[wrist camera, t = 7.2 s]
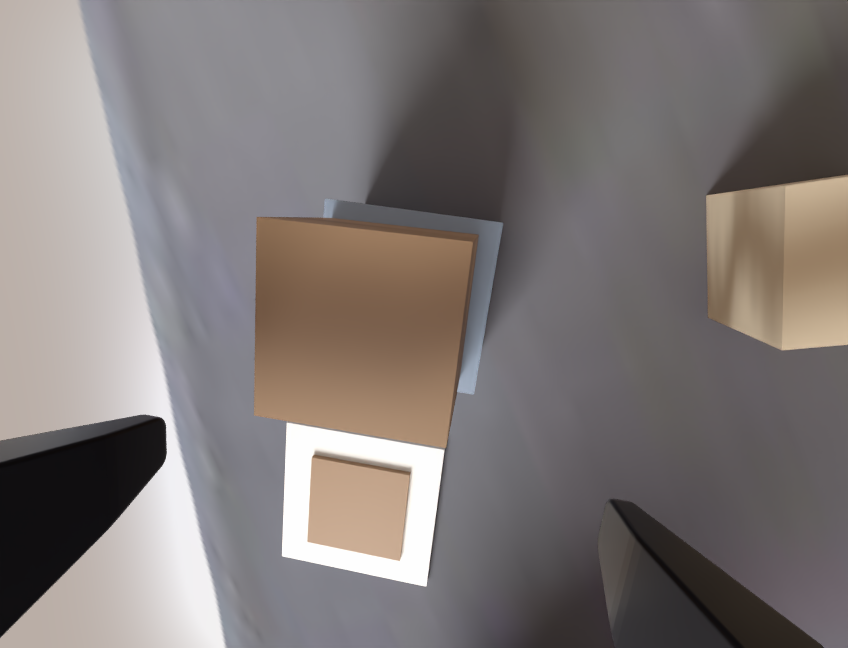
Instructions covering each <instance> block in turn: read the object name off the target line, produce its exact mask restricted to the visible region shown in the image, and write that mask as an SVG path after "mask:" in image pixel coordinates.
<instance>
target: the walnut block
mask: <svg viewBox="0 0 848 648" xmlns="http://www.w3.org/2000/svg"><path fill="white" fill-rule="evenodd" d="M478 238H479V234H470V233H461V232H452V231H443V230H434V229H426V228H417V227H408V226H399V225H390V224H381V223H372V222H364V221H355V220H346V219H337V218H299V217H257V234H256V312H255V390H254V415H255V416H261V417H266V418H272V419H278V420H284V421H290V422H296V423H302V424H307V425H313V426H319V427H325V428H331V429H337V430H343V431H348V432H354V433H360V434H366V435H372V436H378V437H384V438H389V439H395V440H401V441H407V442H413V443H419V444H425V445H431V446H436V447H442V448H446V446H447V441H448V436H449V431H450V426H451V421H452V415H453V410H454V405H455V400H456V395H457V390H458V385H459V379H460V373H461V365H462V358H463V350H464V343H465V335H466V328H467V320H468V313H469V305H470V298H471V290H472V283H473V275H474V268H475V260H476V253H477V245H478Z"/></svg>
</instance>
